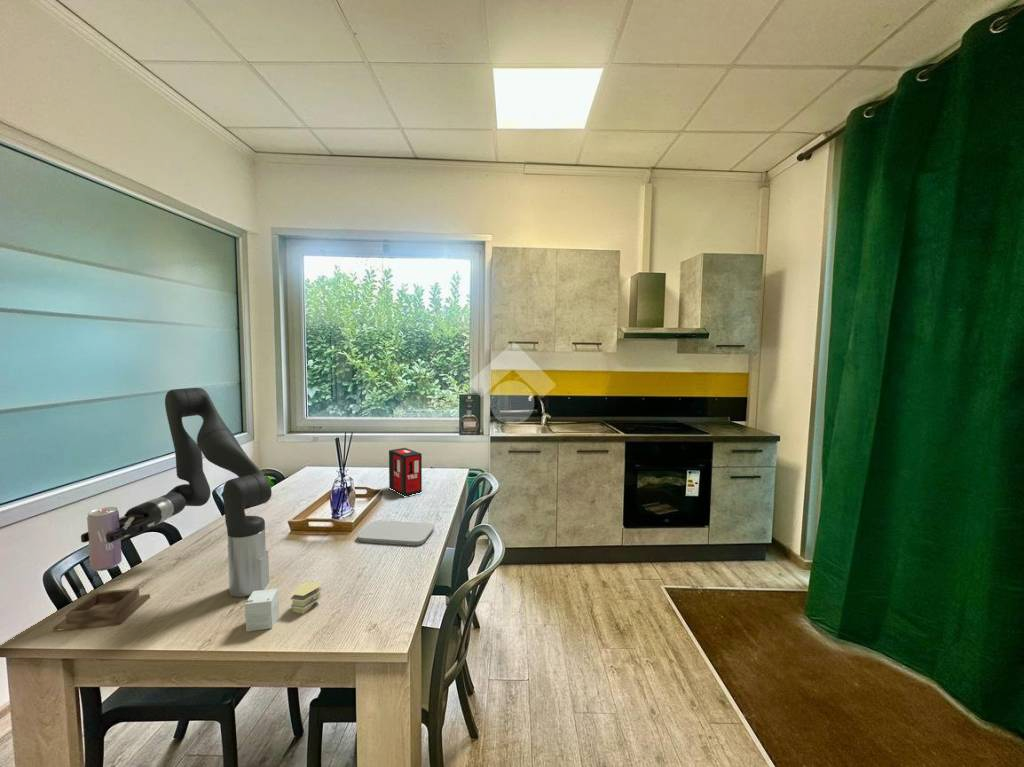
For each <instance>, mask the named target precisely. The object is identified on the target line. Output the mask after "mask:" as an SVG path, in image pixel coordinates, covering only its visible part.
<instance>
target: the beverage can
mask: <svg viewBox="0 0 1024 767" xmlns="http://www.w3.org/2000/svg"><path fill="white" fill-rule="evenodd" d="M119 518H120V513H119V510H118V507H117V506H116V507H115V506H109V507H102V508H101V507H100V508H98V509H93V510H91V511H89V512H87V517H86V521H87V532H88V538H89V541H88V552H89V553H88V554H89V564H90V565H89V566H90V569H91V570H92V571H95V572H103V571H107V570H110V569H113V568H115V567H117V566H119V565H120V564H121V562H122V560H123V559H122V544H121V538H120V539H118V540H116V541H113V542H111V543H108V542H107V535H108V534H110V533H112V532H114V531H116V530H118V529H120V524H119Z"/></svg>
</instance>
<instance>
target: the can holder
mask: <svg viewBox="0 0 1024 767" xmlns="http://www.w3.org/2000/svg"><path fill="white" fill-rule="evenodd" d="M150 598H151V594H150V593H147V594H140V588H139V587H138V588H136V587H135V588H127V589H117V590H104V591H103V590H102V591H96V592H94V593H93V594H91V595H90V596H89V597H88V598H85V600H83V601H82V602H81V603H79V604H78V605H76V606H75V607H73V608H72V609H71V610H70V611H68V612H67V613H65V618H64V619H63V620H61V621H60V622H58V623H57V624H56V625H54V626H53V631H54V630H58V629H70V630H77V629H78V630H79V629H86V628H88V629H89V628H90V629H91V628H97V627H98V628H99V627H108V626H117V625H121V624H122V623H123V622H125V620H127V619H128V618H129V617H130V616H131V615H132V614H134V612H136V611H137V610H138V609H139V608H141V606H143V605H144V603H146V602H147V601H148V600H150Z"/></svg>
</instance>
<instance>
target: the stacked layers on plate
mask: <svg viewBox="0 0 1024 767" xmlns="http://www.w3.org/2000/svg"><path fill="white" fill-rule="evenodd" d="M322 585H323V584H322V583H321V582H320V581H305V582H302V583H300V584H299V585H298V586H297V587H296V588H295V589H293V591H292V592H291V593H290V595H292V596H291V597H290V600H291V601H292V604H291V605H290V607H291V608H292V612H293V613H296V614H303V615H304V614H305V613H307V612H308V611H309V609H311V608H312V607H314V606H313V604H314V603H316V602H318V601H319V600H321V599H322V598H323V596H322V594H321V592H322V591H323V588H322Z"/></svg>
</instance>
